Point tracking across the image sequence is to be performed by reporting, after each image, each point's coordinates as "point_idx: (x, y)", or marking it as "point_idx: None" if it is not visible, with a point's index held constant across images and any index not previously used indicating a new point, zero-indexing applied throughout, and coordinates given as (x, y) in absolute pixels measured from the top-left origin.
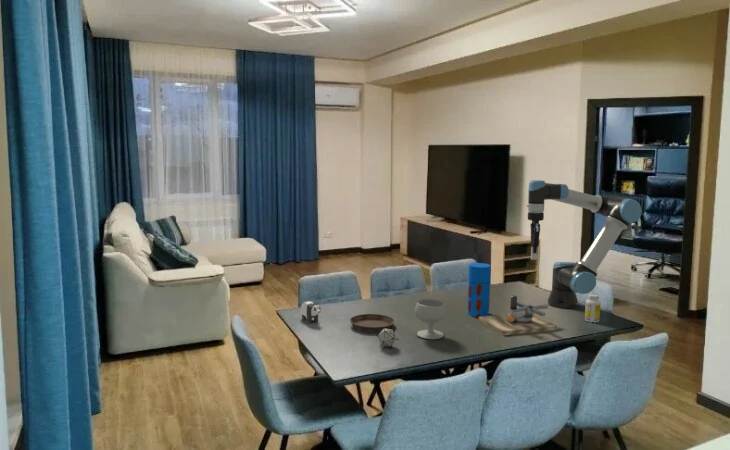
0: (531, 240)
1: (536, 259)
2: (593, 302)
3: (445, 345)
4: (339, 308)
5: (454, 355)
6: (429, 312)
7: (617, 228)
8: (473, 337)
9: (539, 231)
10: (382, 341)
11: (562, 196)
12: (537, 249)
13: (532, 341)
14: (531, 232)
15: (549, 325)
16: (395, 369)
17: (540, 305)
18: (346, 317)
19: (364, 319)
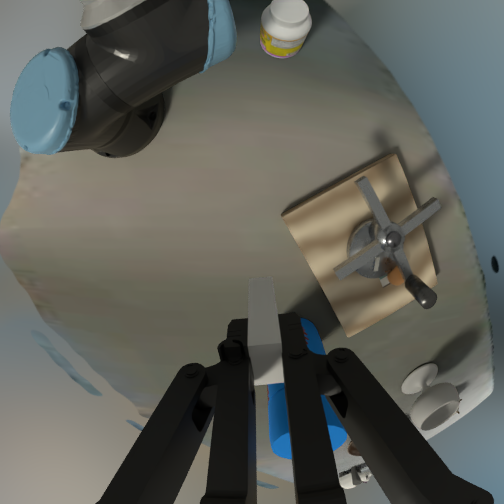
0: (207, 422)
1: (272, 280)
2: (310, 21)
3: (457, 351)
4: None
5: (484, 332)
6: (455, 402)
7: None
8: (436, 325)
9: (461, 481)
10: None
11: None
12: (278, 323)
13: (458, 223)
14: (175, 496)
15: (397, 173)
16: (494, 368)
17: (371, 201)
18: (338, 459)
19: (352, 447)
